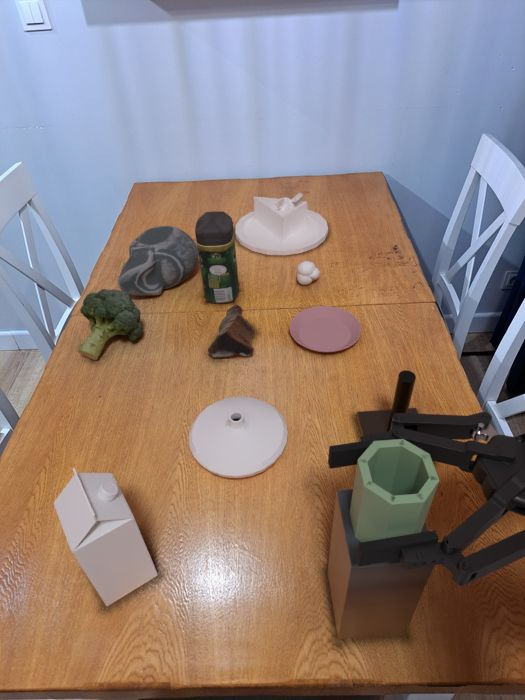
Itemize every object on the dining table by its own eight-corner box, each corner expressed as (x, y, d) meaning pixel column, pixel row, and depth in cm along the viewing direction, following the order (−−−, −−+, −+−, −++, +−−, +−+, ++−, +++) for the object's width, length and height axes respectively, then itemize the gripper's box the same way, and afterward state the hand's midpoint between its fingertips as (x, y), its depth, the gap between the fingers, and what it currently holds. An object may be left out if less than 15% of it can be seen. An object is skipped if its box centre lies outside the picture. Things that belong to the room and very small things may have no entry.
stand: (404, 634, 58) (437, 559, 45) (337, 639, 58) (351, 566, 45) (387, 567, 64) (412, 484, 51) (327, 572, 64) (336, 489, 51)
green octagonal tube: (426, 551, 46) (447, 500, 40) (358, 556, 46) (369, 505, 39) (407, 491, 50) (423, 437, 44) (345, 495, 50) (353, 442, 44)
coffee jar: (206, 281, 115) (196, 208, 103) (240, 280, 115) (233, 206, 103) (202, 306, 108) (191, 230, 96) (238, 305, 108) (231, 229, 95)
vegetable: (54, 340, 98) (95, 279, 102) (109, 373, 103) (147, 314, 107) (60, 338, 87) (106, 270, 91) (122, 375, 92) (163, 309, 96)
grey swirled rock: (114, 305, 111) (152, 258, 125) (179, 311, 107) (210, 262, 121) (98, 262, 103) (140, 217, 118) (167, 267, 99) (202, 220, 113)
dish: (345, 225, 133) (348, 184, 126) (291, 265, 119) (291, 223, 111) (273, 202, 145) (272, 164, 137) (216, 237, 131) (212, 197, 123)
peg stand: (433, 462, 76) (454, 399, 66) (369, 467, 76) (380, 404, 66) (414, 413, 83) (431, 350, 73) (356, 417, 83) (365, 354, 73)
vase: (296, 416, 84) (296, 388, 79) (275, 496, 72) (274, 468, 68) (209, 401, 87) (204, 373, 82) (176, 476, 76) (168, 448, 71)
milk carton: (107, 608, 62) (59, 534, 49) (89, 561, 66) (41, 483, 54) (158, 576, 64) (126, 498, 52) (137, 533, 69) (103, 452, 56)
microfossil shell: (295, 277, 115) (295, 257, 111) (318, 276, 115) (319, 256, 111) (297, 288, 112) (297, 268, 108) (320, 287, 112) (321, 266, 108)
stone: (200, 345, 92) (217, 298, 103) (210, 367, 96) (225, 319, 107) (245, 341, 90) (258, 293, 101) (253, 363, 94) (264, 314, 104)
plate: (275, 336, 99) (274, 329, 98) (319, 305, 107) (319, 297, 105) (330, 369, 92) (331, 361, 90) (374, 332, 99) (375, 325, 98)
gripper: (639, 602, 40) (376, 650, 39) (504, 406, 57) (314, 433, 55) (689, 561, 35) (389, 614, 34) (525, 358, 52) (316, 387, 50)
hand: (343, 502), depth 44 cm, fingers open, 9 cm apart
